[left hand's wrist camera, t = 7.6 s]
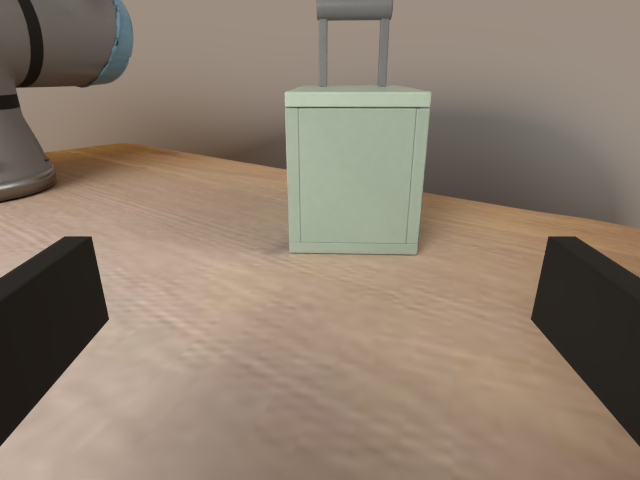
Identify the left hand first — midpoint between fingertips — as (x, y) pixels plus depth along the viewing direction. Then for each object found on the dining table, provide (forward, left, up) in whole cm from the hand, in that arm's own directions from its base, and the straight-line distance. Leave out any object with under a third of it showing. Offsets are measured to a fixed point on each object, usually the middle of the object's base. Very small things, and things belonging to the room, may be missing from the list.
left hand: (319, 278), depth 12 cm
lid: (+16, -19, +4) cm, 25 cm away
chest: (+16, -19, -7) cm, 25 cm away
